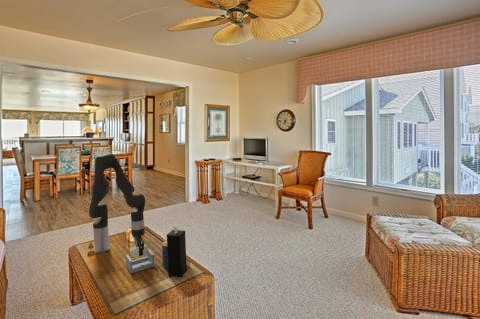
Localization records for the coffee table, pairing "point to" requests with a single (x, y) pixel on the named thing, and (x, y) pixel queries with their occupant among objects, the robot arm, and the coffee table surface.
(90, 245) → the coffee table surface
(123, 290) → the coffee table surface
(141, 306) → the coffee table surface
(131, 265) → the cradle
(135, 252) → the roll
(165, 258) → the canister
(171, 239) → the long black block
